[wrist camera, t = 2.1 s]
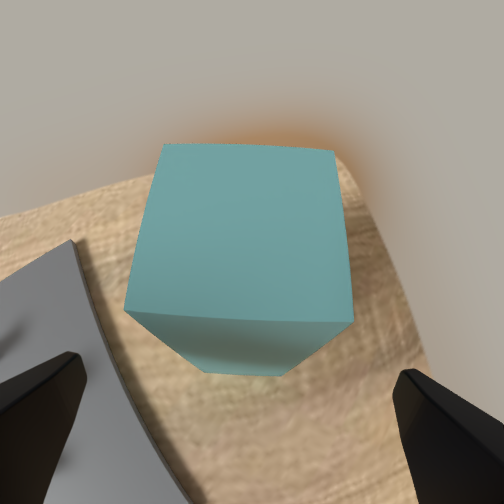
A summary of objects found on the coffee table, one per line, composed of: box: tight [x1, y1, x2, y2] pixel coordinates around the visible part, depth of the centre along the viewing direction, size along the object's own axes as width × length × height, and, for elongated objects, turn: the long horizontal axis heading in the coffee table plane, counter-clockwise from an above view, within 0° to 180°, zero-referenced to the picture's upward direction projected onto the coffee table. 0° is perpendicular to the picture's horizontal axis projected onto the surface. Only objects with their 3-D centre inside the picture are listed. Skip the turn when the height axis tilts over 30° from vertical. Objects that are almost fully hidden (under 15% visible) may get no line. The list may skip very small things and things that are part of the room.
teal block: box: [124, 144, 354, 376], centre depth 13 cm, size 4×4×13 cm
